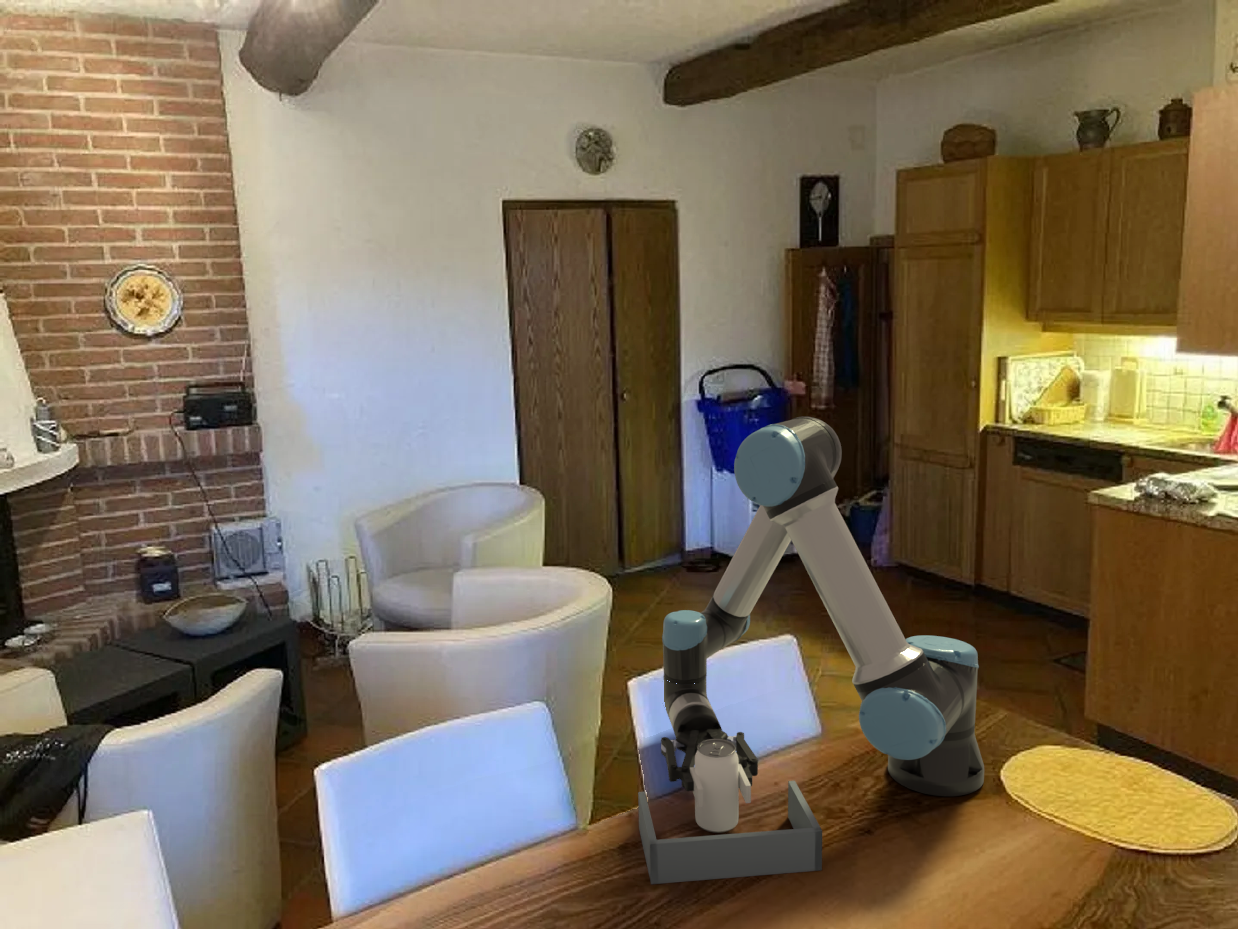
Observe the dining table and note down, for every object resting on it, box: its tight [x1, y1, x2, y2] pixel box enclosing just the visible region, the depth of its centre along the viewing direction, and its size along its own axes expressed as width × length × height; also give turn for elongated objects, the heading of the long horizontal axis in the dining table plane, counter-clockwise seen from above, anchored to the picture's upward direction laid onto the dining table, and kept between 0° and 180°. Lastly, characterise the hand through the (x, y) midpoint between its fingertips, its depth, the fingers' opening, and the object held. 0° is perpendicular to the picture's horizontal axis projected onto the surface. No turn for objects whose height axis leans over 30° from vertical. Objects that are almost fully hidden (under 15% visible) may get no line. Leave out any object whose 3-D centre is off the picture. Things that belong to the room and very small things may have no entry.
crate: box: [637, 780, 823, 885], centre depth 142 cm, size 14×24×6 cm, turn 96°
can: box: [694, 739, 740, 833], centre depth 146 cm, size 6×6×12 cm
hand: (724, 796), depth 141 cm, fingers closed on can, 6 cm apart
